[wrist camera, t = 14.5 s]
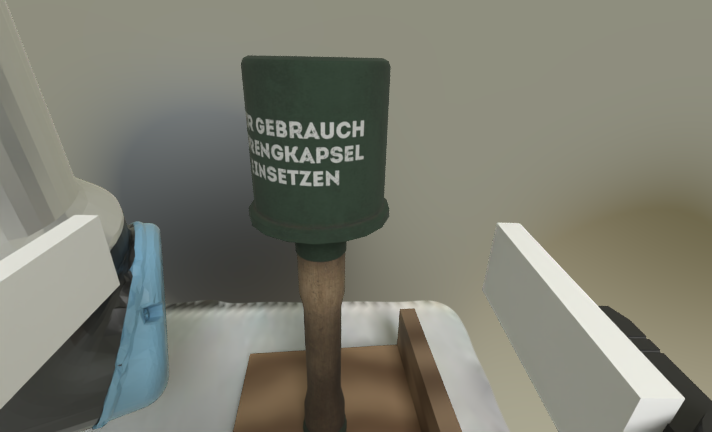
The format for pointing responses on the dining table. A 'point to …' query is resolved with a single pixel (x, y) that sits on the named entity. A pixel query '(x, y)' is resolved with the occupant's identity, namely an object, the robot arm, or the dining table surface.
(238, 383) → the dining table surface
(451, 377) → the dining table surface
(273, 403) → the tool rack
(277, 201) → the stick grenade
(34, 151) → the robot arm
